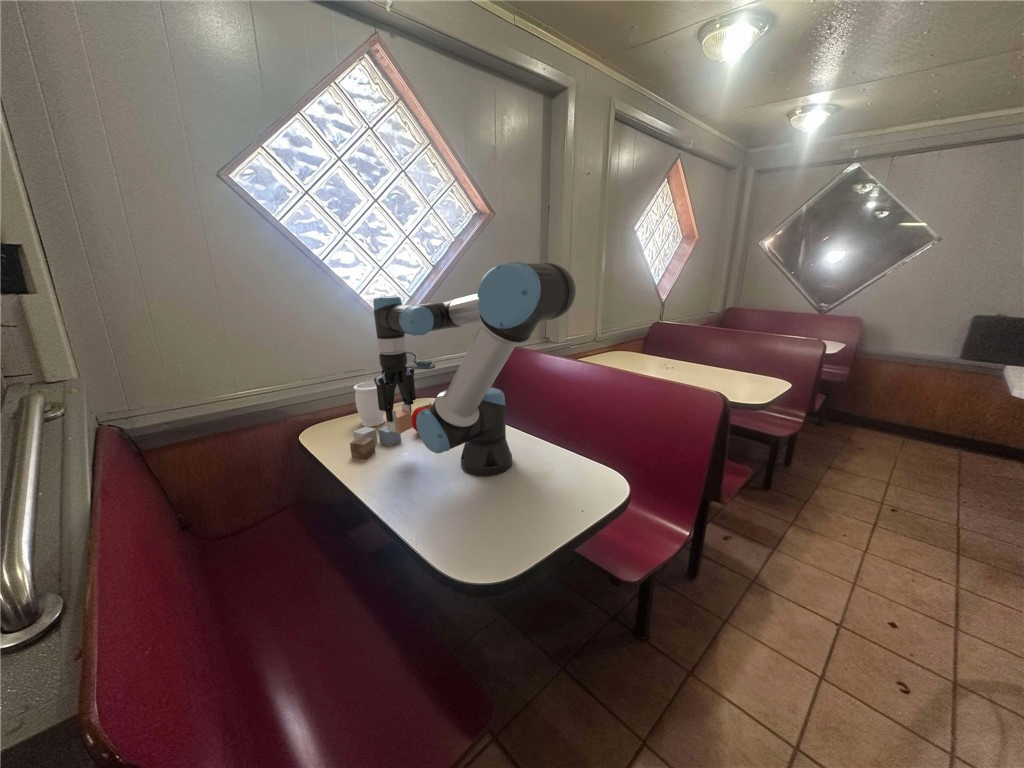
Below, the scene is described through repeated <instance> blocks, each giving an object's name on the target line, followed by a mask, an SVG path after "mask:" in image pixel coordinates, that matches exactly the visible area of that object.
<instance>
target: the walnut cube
mask: <svg viewBox="0 0 1024 768" xmlns="http://www.w3.org/2000/svg"><path fill="white" fill-rule="evenodd" d="M349 447H350V453H351V454H350V455H351V458H352V459H357V460H358V459H359V460H365V461H366V460H367V459H368V458H370V457H371V456H373V455H375V454H376V446H375V444H374V438H368V437H359V438H357V439H355V440H352V441H351V442H349Z"/></svg>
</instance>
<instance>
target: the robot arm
mask: <svg viewBox="0 0 1024 768" xmlns="http://www.w3.org/2000/svg"><path fill="white" fill-rule="evenodd" d="M576 287H577V286H576V282H575V279H574V278H573V275H571V273H570V271H568V270H567V268H565V267H564V266H561V265H559V264H557V263H552V262H544V263H543V262H541V263H538V262H537V263H524V262H520V261H519V262H518V261H513V262H508V263H502V264H499V265H496V266H494V267H492V268H491V269H489V270H488V271H487V272H486V273H485V274H484V276H483V277H482V279H481V281H480V283H479V285H478V288H477V292H476V293H475V294H471V295H466V296H463V297H458V298H455V299H451V300H447V301H441V302H440V301H439V302H431V303H419V304H403V303H402V299H401V297H400V296H396V295H395V296H394V295H393V296H392V295H391V296H376V297H374V299H373V301H372V303H373V316H374V323H375V331H376V332H375V333H376V341H377V348H378V349H377V350H378V351H379V354H378V358H379V365H380V367H381V369H382V371H381V375H379V376H378V377H374V379H373V382H375V384H376V387H377V396H378V405H379V410H381V411H385V412H384V413H385V418H386V420H385V421H386V423H387V422H388V423H389V431H393V432H398V429H397V421H396V411H397V410H394V403H395V393H396V388H397V387H398V391H399V393H400V396H401V400H402V402H403V403H402V404H401V410H404V411H408V412H411V413H413V411H412V405H414V403H415V402H414V401H416V398H417V397H416V388H415V387H416V386H415V379H414V378H415V377H414V375H415V369H414V368H410V367H407V364H408V357H407V352H406V350H407V345H406V336H405V334H406V335H410V336H424V335H427V334H429V332H435V331H439V330H440V331H441V330H447V329H455V328H460V327H463V326H470V325H474V324H480V323H481V324H480V325H479V328H478V329H477V331H476V333H475V336H474V337H473V339H472V341H471V343H470V345H469V347H468V349H467V351H466V353H465V354H464V357H463V358H462V361H461V363H460V364H459V366H458V368H457V370H456V373H455V374H454V376H453V378H452V380H451V382H450V384H449V386H448V388H447V389H445V390H443V391H441V392H439V394H437V396H436V398H435V399H434V401H433V403H432V404H431V405H432V407H431V408H429V409H424V410H423V411H421V412H419V413H418V415H417V419H416V425H417V430H418V432H417V433H418V435H419V438H420V440H421V441H422V443H423V444H424V446H425V447H426V449H428V450H429V451H430V452H432V453H435V454H442V453H445V452H449V451H451V450H452V449H455V448H456V447H459V446H460V445H463V444H464V446H463V449H462V452H461V455H460V465H461V466H460V467H461V469H462V470H463V471H464V472H466V473H468V474H470V475H473V476H474V475H475V476H481V477H486V476H488V477H489V476H495V475H500V474H502V473H504V472H506V471H508V470H510V468H512V465H513V454H512V452H511V449H510V446H509V443H508V441H507V434H506V433H507V432H506V431H507V430H506V424H507V423H506V421H507V420H506V416H507V415H506V405H507V403H506V399H505V393H504V392H503V390H501V389H498V388H496V387H492V386H493V383H495V382H494V381H495V380H496V379H497V377H498V376H499V374H500V372H501V370H503V367H504V366H505V364H506V362H507V361H508V360H509V357H510V356H511V354H512V353H513V351H514V349H515V348H516V346H517V345H518V344H524V343H526V342H527V341H528V340H529V339H530V337H531V336H532V334H533V332H534V331H535V330H536V328H537V327H538V325H539V324H540V323H541V322H545V321H549V320H550V321H551V320H555V319H558V318H560V317H561V316H563V315H565V314H566V313H567V312H568V311H569V310H570V309H571V307H573V304H574V302H575V299H576V293H577V288H576ZM388 423H387V424H388Z"/></svg>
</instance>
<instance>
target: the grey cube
mask: <svg viewBox="0 0 1024 768" xmlns="http://www.w3.org/2000/svg"><path fill="white" fill-rule="evenodd" d="M352 433H353V439H354V440H355V439H357V438H359V437H368V438H374V445H375V444H378V437H377V429H376V428H373V427H366V426H363V427H360V428H358V429H356V430H353V432H352ZM354 440H353V441H354Z"/></svg>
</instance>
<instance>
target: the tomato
mask: <svg viewBox="0 0 1024 768" xmlns="http://www.w3.org/2000/svg"><path fill="white" fill-rule="evenodd" d="M432 405H433V404H432V402H430V403H429V404H427V405H423V406H418V407H416V408H415V409H414V410H413V411H412V412H411V417H412V428H413V429H414V431H415V432H417V433H418V430H417V425H416V419H417V415H418V413H419V412H421V411H423V410H424V409H429V408H431V407H432Z"/></svg>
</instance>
